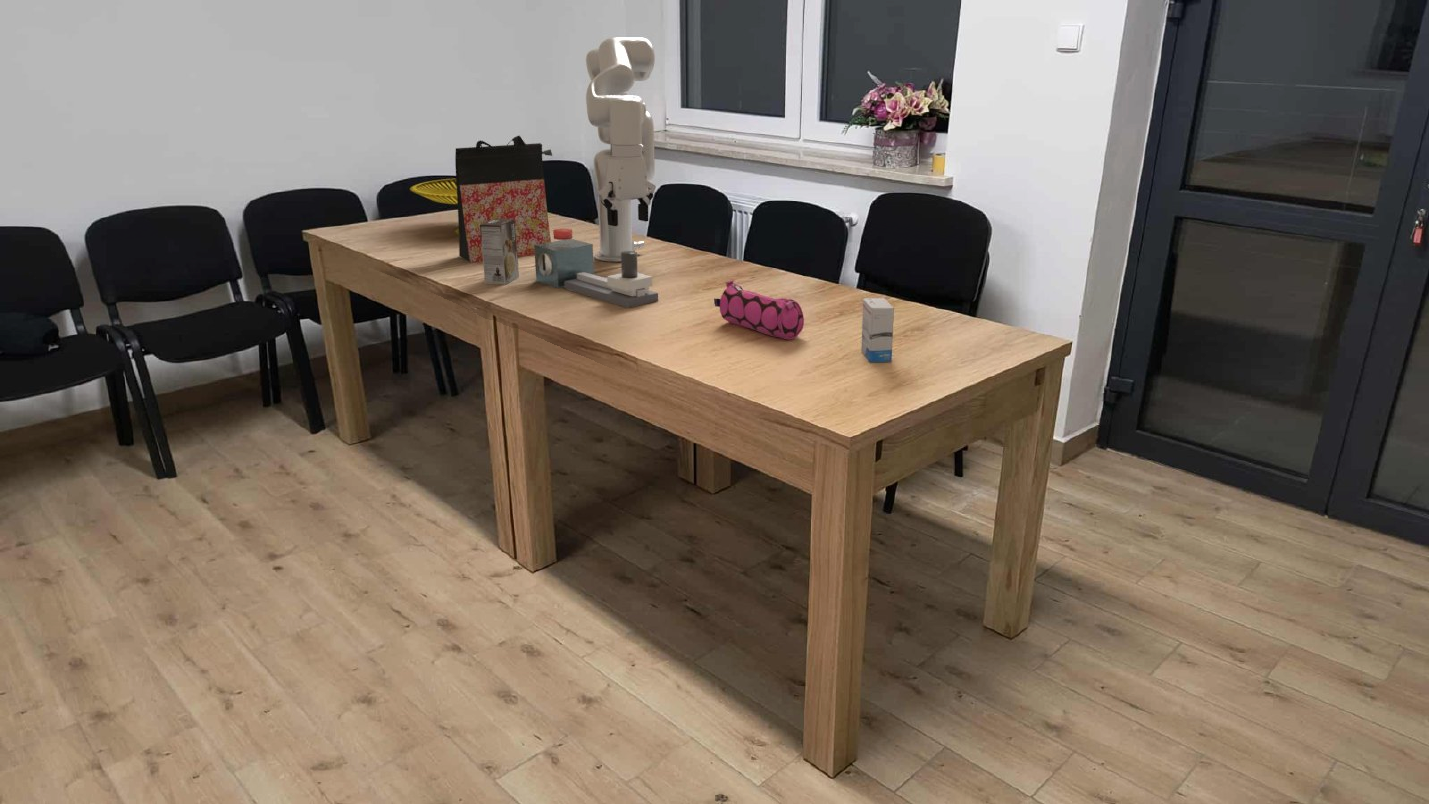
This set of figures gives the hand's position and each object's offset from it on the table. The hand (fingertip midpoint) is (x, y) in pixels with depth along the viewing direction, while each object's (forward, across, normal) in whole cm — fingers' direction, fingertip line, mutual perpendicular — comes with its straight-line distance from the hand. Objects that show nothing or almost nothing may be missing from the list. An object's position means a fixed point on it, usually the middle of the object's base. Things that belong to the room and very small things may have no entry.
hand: (628, 223), depth 241 cm
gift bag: (+19, -8, -66) cm, 69 cm away
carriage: (+17, 0, 0) cm, 17 cm away
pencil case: (+20, -6, +40) cm, 45 cm away
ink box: (+21, -9, +69) cm, 73 cm away
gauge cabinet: (+19, 0, -28) cm, 34 cm away
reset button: (+8, 0, -28) cm, 29 cm away
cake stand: (+18, -19, -104) cm, 107 cm away
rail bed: (+20, 0, -8) cm, 21 cm away
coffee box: (+20, +12, -40) cm, 46 cm away
